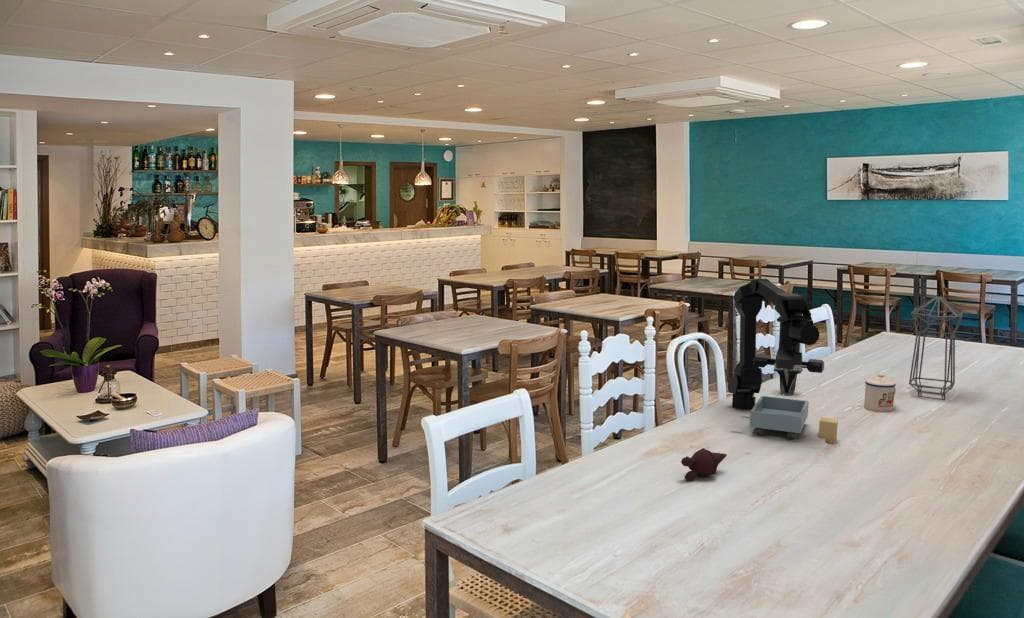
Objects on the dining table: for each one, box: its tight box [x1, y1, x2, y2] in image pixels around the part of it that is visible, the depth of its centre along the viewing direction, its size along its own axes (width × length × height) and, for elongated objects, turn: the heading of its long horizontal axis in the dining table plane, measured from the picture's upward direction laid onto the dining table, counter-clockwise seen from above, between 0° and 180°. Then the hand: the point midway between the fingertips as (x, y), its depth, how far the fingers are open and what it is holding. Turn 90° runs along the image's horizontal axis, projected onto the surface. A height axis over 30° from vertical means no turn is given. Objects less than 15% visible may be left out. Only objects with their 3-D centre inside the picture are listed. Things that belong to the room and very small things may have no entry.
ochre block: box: [818, 416, 839, 444], centre depth 225 cm, size 4×4×6 cm
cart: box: [749, 395, 809, 441], centre depth 230 cm, size 14×20×7 cm
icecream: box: [680, 447, 728, 482], centre depth 196 cm, size 7×7×15 cm
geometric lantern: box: [908, 296, 964, 401], centre depth 273 cm, size 16×16×35 cm
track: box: [724, 414, 806, 442], centre depth 233 cm, size 20×22×1 cm
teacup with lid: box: [863, 372, 897, 413], centre depth 259 cm, size 12×9×12 cm
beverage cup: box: [779, 369, 798, 396], centre depth 276 cm, size 7×7×20 cm
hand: (787, 392), depth 228 cm, fingers closed
